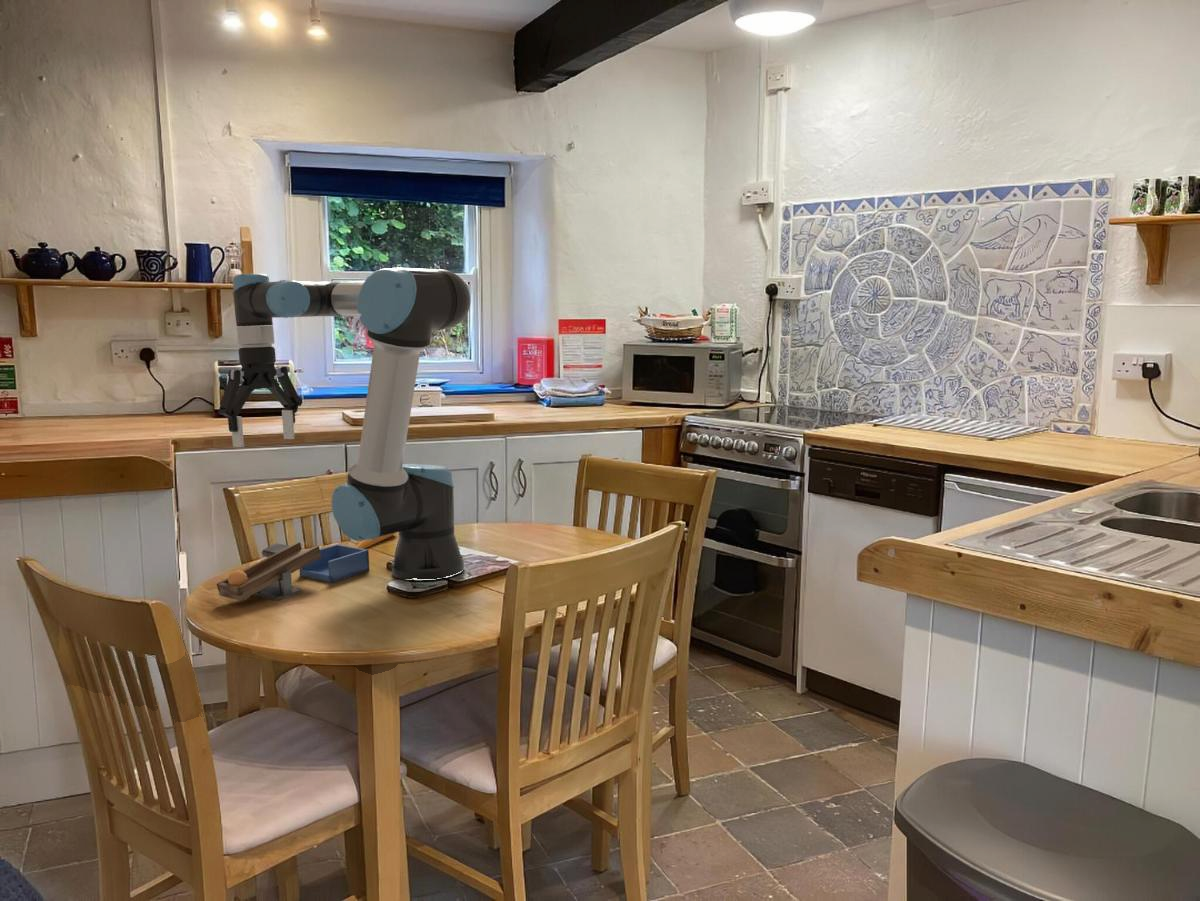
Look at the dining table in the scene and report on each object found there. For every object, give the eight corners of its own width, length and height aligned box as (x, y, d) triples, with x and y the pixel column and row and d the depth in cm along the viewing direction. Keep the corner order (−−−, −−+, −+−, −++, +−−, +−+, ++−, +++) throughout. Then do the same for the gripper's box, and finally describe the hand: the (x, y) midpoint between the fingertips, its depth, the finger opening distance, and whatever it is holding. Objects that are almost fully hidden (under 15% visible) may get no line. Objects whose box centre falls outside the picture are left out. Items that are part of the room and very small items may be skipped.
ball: (253, 583, 182) (248, 568, 181) (239, 593, 179) (233, 577, 178) (242, 581, 184) (236, 565, 183) (227, 590, 181) (221, 574, 180)
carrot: (387, 537, 235) (379, 521, 234) (401, 531, 233) (394, 515, 233) (345, 566, 217) (336, 549, 216) (360, 561, 215) (351, 543, 214)
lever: (321, 557, 194) (318, 545, 193) (240, 600, 178) (237, 588, 177) (277, 548, 201) (275, 537, 200) (196, 589, 185) (193, 578, 185)
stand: (301, 592, 188) (299, 569, 187) (276, 600, 183) (274, 576, 182) (269, 585, 193) (268, 562, 192) (244, 592, 188) (242, 569, 187)
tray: (369, 570, 203) (368, 549, 203) (331, 582, 194) (330, 561, 194) (338, 563, 208) (337, 544, 208) (299, 575, 200) (298, 555, 199)
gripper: (290, 344, 218) (297, 435, 221) (195, 348, 197) (204, 449, 200) (313, 343, 214) (320, 436, 217) (218, 348, 194) (227, 451, 196)
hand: (264, 442), depth 209 cm, fingers open, 13 cm apart
